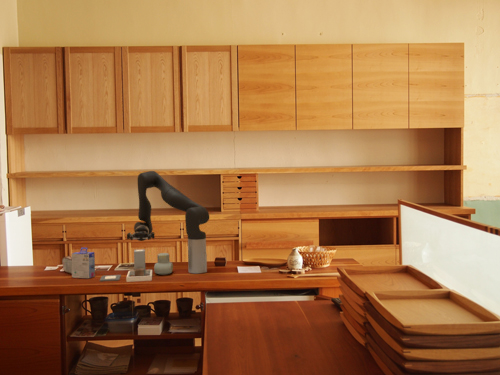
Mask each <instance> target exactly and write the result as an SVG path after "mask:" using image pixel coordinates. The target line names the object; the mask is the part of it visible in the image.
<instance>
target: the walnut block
mask: <svg viewBox="0 0 500 375" xmlns="http://www.w3.org/2000/svg"><path fill="white" fill-rule="evenodd" d="M134 276H144V268H138V269H135V275H134Z"/></svg>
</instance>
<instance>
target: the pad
mask: <svg viewBox="0 0 500 375" xmlns="http://www.w3.org/2000/svg"><path fill="white" fill-rule="evenodd" d="M121 276H122V274H110V275H109V274H107V275H102V276H101V277H100V279H99V282H113V281H115V282H117V281H120V279H121V278H122V277H121Z"/></svg>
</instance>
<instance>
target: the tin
mask: <svg viewBox="0 0 500 375" xmlns="http://www.w3.org/2000/svg"><path fill="white" fill-rule="evenodd" d="M61 262H62V263H61V264H62V268H63V271H64V272H66V273H67V274H70V275H72V255H71V256H70V255H67V256H63V257H62V259H61Z"/></svg>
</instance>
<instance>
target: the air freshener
mask: <svg viewBox="0 0 500 375" xmlns="http://www.w3.org/2000/svg"><path fill="white" fill-rule="evenodd" d="M173 268H174V264H173V262H172V261H170V254H169V253H168V252H160V253H158V254H157V262H156V263H154V267H153V269H154V270H153V272H154V273H155V274H157V275H159V276H160V275H161V276H162V275H163V276H164V275H165V276H167V275H171V273H173V271H174V269H173Z"/></svg>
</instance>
